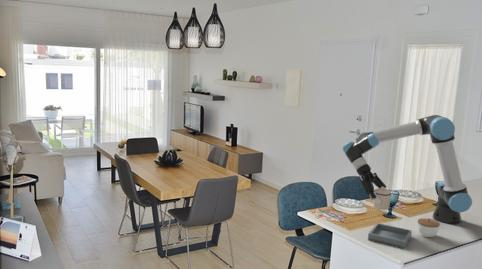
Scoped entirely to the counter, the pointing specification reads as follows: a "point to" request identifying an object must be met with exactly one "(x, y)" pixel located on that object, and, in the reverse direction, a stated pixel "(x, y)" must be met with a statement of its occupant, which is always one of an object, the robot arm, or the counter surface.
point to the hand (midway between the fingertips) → (384, 201)
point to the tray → (390, 235)
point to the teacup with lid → (382, 198)
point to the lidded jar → (428, 227)
